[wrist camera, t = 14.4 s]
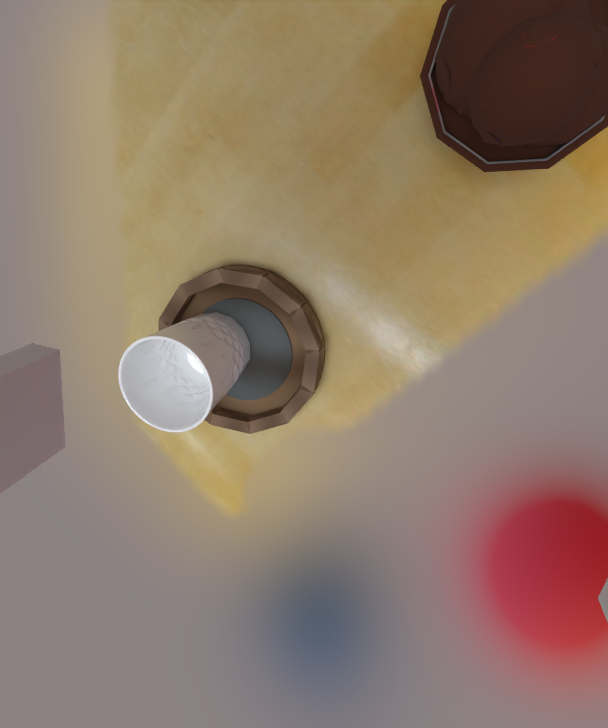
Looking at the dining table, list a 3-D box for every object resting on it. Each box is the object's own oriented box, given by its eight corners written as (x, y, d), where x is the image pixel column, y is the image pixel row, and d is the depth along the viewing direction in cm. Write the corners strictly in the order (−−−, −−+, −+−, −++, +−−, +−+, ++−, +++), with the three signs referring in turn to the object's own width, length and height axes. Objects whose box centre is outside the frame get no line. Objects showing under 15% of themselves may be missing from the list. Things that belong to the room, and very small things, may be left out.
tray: (173, 252, 45) (157, 257, 43) (335, 280, 42) (329, 286, 40) (171, 401, 51) (157, 413, 48) (314, 434, 48) (307, 448, 46)
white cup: (174, 368, 48) (113, 412, 39) (186, 294, 45) (123, 321, 36) (247, 395, 47) (202, 446, 38) (265, 321, 44) (221, 357, 35)
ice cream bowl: (620, 100, 33) (750, 41, 20) (475, 205, 38) (498, 217, 24) (536, -37, 32) (612, -203, 18) (395, 89, 36) (373, 32, 23)
